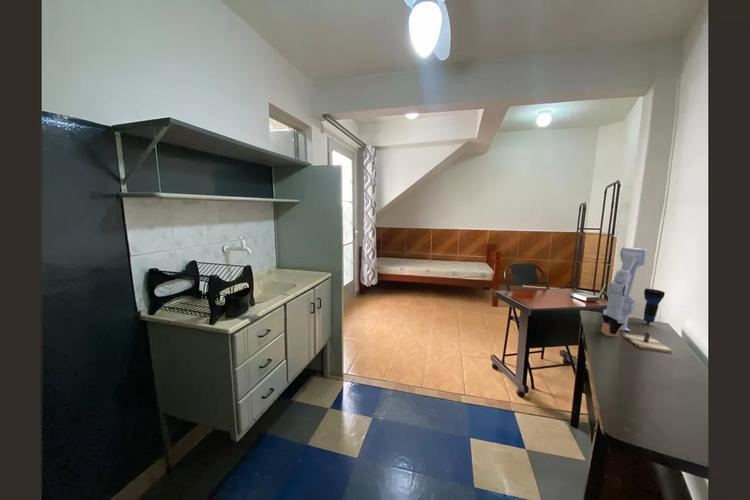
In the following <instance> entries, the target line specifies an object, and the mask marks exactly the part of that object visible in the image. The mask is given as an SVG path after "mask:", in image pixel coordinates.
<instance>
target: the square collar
mask: <svg viewBox="0 0 750 500" xmlns="http://www.w3.org/2000/svg"><path fill="white" fill-rule="evenodd" d="M601 326H602V327H601V330H600V331H601V332H602V334H604V335H605V336H606V337H607V336H608V337H614V338H618V337H619V333H620V331H621V330H620V328H619V329H618V331H617V333H616V334H611V333H610V323H604V321H603V322H602V325H601Z"/></svg>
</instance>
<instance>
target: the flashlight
mask: <svg viewBox="0 0 750 500" xmlns="http://www.w3.org/2000/svg"><path fill="white" fill-rule="evenodd" d="M643 294H644V300H645V301H646V303H645V306H644V312H643V321H645V322H646V325H647V324H649V325H650V323H653V322H655V320H656V317H657V313H658V309H659V304H660V303H661V301H662V300H663V299H664V297H665V291H662V290H659V289H655V288H654V289H653V288H644V292H643Z"/></svg>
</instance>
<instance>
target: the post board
mask: <svg viewBox="0 0 750 500" xmlns="http://www.w3.org/2000/svg"><path fill="white" fill-rule="evenodd" d="M622 336H623V338H625V339H626V340H627V341H629V342H630V343H632V344H633V343H634V344H635V347H637V348H638V347H639V348H638V349H640V348H642V349H643V350H648V351H654V352H661V353H670V354H672V353H673V350H672V349H671V348H669V347H667V346H666V345H665V344H663V343H661V342H660V341H658V340H657V339H655V338H654V337H652V336H651V332H648V331H645V333H644V335H639V334H632V333H626V332H624V333H623V332H622ZM642 349H641V350H642Z"/></svg>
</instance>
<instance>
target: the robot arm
mask: <svg viewBox="0 0 750 500" xmlns="http://www.w3.org/2000/svg"><path fill="white" fill-rule="evenodd" d="M619 252H620V253H619V257H620V261H621V263H622V264H621V268H620V270H617V272H616V274H615V276H614V278H613V280H612V282H610V283H609V285H608V293H607V294H608V295H607V296H608V300H607V304H606V309H605V308H604V309H603V312H602V314H601V317H602V320H603V322H604V323H610V333H611V334H616V333H617V331H618V329H619V328H620V330H619V331H625V330H626V331H627V332H631V330H630V329H629V328H628V322H629V317H630V315H632V314H633V313H634V311H635V307H636V299H635V298H634V297H633V296H631V292H632V289H633V285H634V282H635V279H636V274H637V271H638V268H639V267H640V266H644V264H645V263H646V259H647V256H648V249H646V248H637V247H626V246H622V247H621V249H620V251H619Z"/></svg>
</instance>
